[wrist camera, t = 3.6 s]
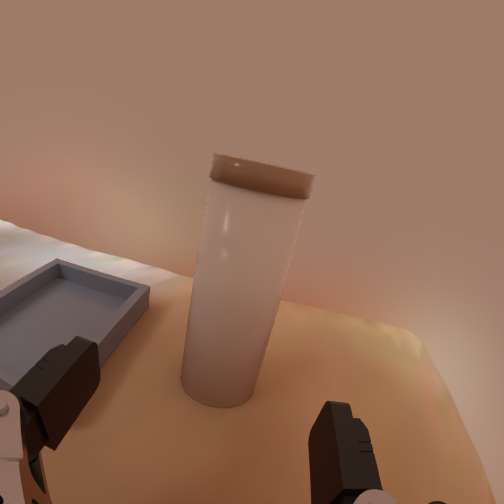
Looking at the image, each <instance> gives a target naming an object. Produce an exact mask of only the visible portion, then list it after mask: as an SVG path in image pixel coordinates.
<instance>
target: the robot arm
mask: <svg viewBox="0 0 504 504" xmlns="http://www.w3.org/2000/svg"><path fill="white" fill-rule="evenodd" d="M99 382H100V365H99V353H98V345H97V343H96V342H93V341H91V340H88V339H85V338H83V337H80V336H76V337H74V338H73V339H72V340H71V341H70V342H69V343H68V344H67V345H64V344H61V345H58V346H56V347H54V348H52V349H50V350H49V351H48V352H47V353H46V354H45V355H44V356H43V357H42V359H40V360H39V361H38V362H37V363H36V364H35V366H33V367H32V368H31V369H30V370H29V371H28V372H27V373H26V374H25V375H24V376H23V377H22V378H21V379H20V380H19V381H18V382H17V383H16V384H15V385H14V386H13V387H12V388H11V389H10V390H9V391H4V390H0V504H52V501H51V498H50V495H49V491H48V486H47V482H46V477H45V472H44V466H43V461H42V455H41V452H40V451H41V450H42V448H43V447H44V445H45V446H47V447H49V448H51V449H52V450H54V451H55V450H56V448H57V447H58V445H59V444H60V442H61V441H62V439H63V438H64V436H65V435H66V433H67V432H68V430H69V429H70V427H71V426H72V424H73V423H74V421H75V420H76V418H77V417H78V415H79V414H80V412H81V411H82V410H83V408H84V407H85V405H86V404H87V402H88V401H89V399H90V398H91V397H92V395H93V394H94V392H95V391H96V389H97V387H98V385H99ZM308 447H309V463H310V482H311V504H397V503H396V501H395V499H394V498H393V497H392V496H391V495H390V494H388V493H387V492H385V491H383V489H382V486H381V481H380V477H379V473H378V468H377V464H376V460H375V456H374V453H373V448H372V444H371V440H370V436H369V432H368V429H367V428H366V426H365V425H364V424H363V422H362V421H361V419H359V418H353V416H352V412H351V407H350V405H349V403H343V402H334V401H327V402H326V403H325V404H324V406H323V408H322V410H321V412H320V414H319V415H318V417H317V419H316V421H315V423H314V425H313V427H312V429H311V431H310V435H309V441H308ZM429 504H446V503H444V502H441V501H434V502H431V503H429Z"/></svg>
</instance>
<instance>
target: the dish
mask: <svg viewBox="0 0 504 504" xmlns="http://www.w3.org/2000/svg"><path fill="white" fill-rule="evenodd" d="M149 294H150V286H147V285H143V284H139V283H136V282H132V281H129V280H125V279H122V278H118V277H115V276H112V275H108V274H105V273H101V272H98V271H95V270H91V269H88V268H85V267H82V266H78V265H75V264H72V263H69V262H66V261H63V260H60V259H55V260H53V261H51V262H50V263H48V264H46V265H44V266H42V267H41V268H39V269H37V270H35V271H34V272H32V273H30V274H29V275H27V276H25V277H23V278H22V279H20V280H18V281H17V282H15V283H13V284H12V285H10V286H8V287H7V288H5V289H3V290H2V291H0V390H4V391H9V390H10V389H11V388H12V387H13V386H14V385H15V384H16V383H17V382H18V381H19V380H20V379H21V378H22V377H23V376H24V375H25V374H26V373H27V372H28V371H29V370H30V369H31V368H32V367H33V366H35V364H36V363H37V362H38V361H39V360H40V359H42V357H43V356H44V355H45V354H46V353H47V352H48V351H49V350H50V349H52V348H54V347H56V346H58V345H61V344H64V345H67V344H68V343H69V342H70V341H71V340H72V339H73V338H74V337H76V336H80V337H83V338H85V339H88V340H91V341H93V342H96V343H97V345H98V353H99V365H100V367H101V366H102V365H103V364H104V362H105V361H106V360H107V358H108V357H109V356H110V354H111V353H112V352H113V351H114V349H115V348H116V347H117V345H118V344H119V343H120V342H121V340H122V339H123V338H124V336H125V335H126V334H127V333H128V331H129V330H130V329H131V328H132V326H133V325H134V324H135V322H136V321H137V320H138V319H139V317H140V316H141V315H142V314H143V312H144V311H145V310H146V309H147V308H148V306H149Z"/></svg>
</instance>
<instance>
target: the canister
mask: <svg viewBox="0 0 504 504" xmlns="http://www.w3.org/2000/svg"><path fill="white" fill-rule="evenodd" d="M314 176H315V175H312V174H309V173H306V172H302V171H298V170H295V169H291V168H287V167H283V166H278V165H274V164H270V163H265V162H261V161H256V160H251V159H246V158H241V157H235V156H230V155H224V154H217V153H215V154H214V157H213V162H212V167H211V172H210V178H211V182H210V187H209V193H208V198H207V204H206V209H205V214H204V220H203V225H202V231H201V237H200V243H199V249H198V255H197V261H196V267H195V274H194V280H193V287H192V294H191V300H190V308H189V315H188V322H187V330H186V337H185V345H184V353H183V362H182V370H181V383H182V386H183V388H184V390H185V391H186V392H187V393H188V394H189V395H190V396H191V397H192V398H193V399H195V400H196V401H198V402H200V403H203V404H205V405H208V406H212V407H219V408H228V407H234V406H238V405H241V404H243V403H244V402H246V401H247V400H248V399H249V398H250V397H251V395H252V393H253V391H254V387H255V384H256V381H257V378H258V375H259V371H260V368H261V365H262V361H263V358H264V355H265V351H266V348H267V345H268V341H269V338H270V334H271V331H272V328H273V324H274V321H275V317H276V314H277V310H278V307H279V303H280V300H281V296H282V292H283V289H284V285H285V281H286V278H287V274H288V270H289V267H290V263H291V259H292V256H293V252H294V248H295V244H296V240H297V236H298V232H299V229H300V225H301V220H302V217H303V212H304V209H305V205H306V201H307V199H309V197H310V193H311V189H312V185H313V180H314Z"/></svg>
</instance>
